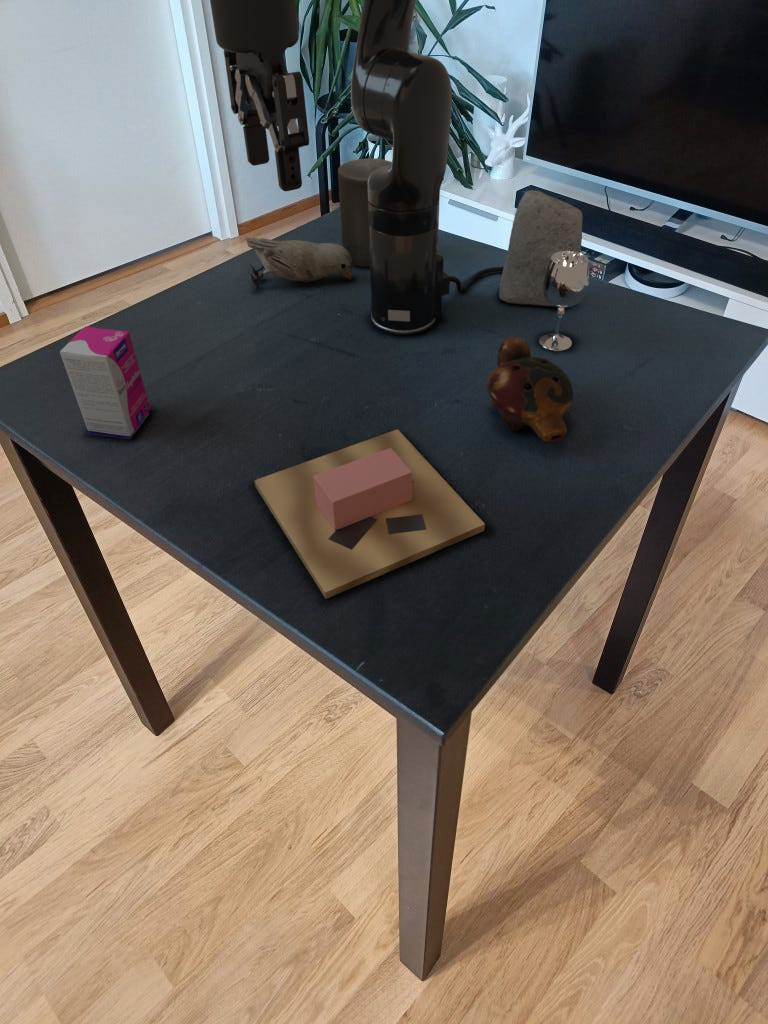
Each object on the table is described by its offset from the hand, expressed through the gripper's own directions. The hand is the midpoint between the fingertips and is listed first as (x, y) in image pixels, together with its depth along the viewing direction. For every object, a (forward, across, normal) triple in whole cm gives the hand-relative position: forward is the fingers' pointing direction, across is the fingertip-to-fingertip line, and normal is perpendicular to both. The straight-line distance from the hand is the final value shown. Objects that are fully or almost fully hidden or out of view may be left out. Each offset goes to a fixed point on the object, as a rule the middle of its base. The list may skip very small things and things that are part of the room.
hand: (274, 175), depth 73 cm
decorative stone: (+26, +3, -40) cm, 48 cm away
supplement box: (+26, +4, +22) cm, 35 cm away
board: (+26, -24, +3) cm, 36 cm away
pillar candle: (+26, +29, -26) cm, 47 cm away
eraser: (+25, -24, +3) cm, 35 cm away
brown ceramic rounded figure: (+26, -20, -21) cm, 39 cm away
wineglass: (+26, -8, -35) cm, 45 cm away
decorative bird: (+26, +26, -12) cm, 39 cm away
